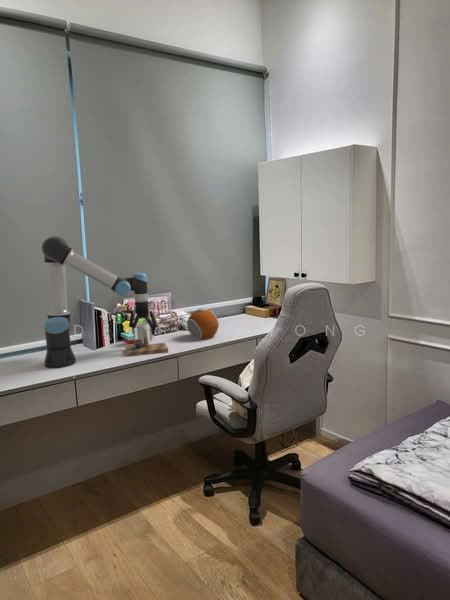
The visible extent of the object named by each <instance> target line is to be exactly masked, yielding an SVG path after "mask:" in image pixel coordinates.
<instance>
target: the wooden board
mask: <svg viewBox="0 0 450 600" xmlns="http://www.w3.org/2000/svg"><path fill="white" fill-rule="evenodd" d="M135 347H136V345H130V346H125V352H126V356H127V357H132V356H142V355H151V354H152V355H153V354H161V353H168V352H169V347H168V346H167V344H166V342H161V343H160V342H159V343H157V342H156V343H148V345H145V346H143V347H142V348H136V349H133V350H131V349H132V348H135Z"/></svg>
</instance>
